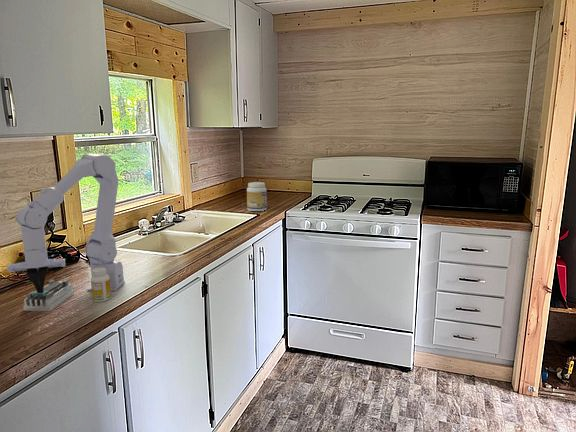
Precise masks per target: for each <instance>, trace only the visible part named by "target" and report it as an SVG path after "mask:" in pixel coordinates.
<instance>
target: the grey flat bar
mask: <svg viewBox="0 0 576 432" xmlns="http://www.w3.org/2000/svg"><path fill="white" fill-rule="evenodd" d="M47 285H48V284H47ZM61 285H63V281H55V282H53V283H51V284H50V285H48V286H46V285H45V286H46V287H45V286H44V291H43V292H41V293H37V290H33V291H34V292H32V296H46V294H47V293H49V292H50V291H52V290H54V289H56V288H57V287H59V286H61Z"/></svg>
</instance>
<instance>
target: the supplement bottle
mask: <svg viewBox="0 0 576 432" xmlns="http://www.w3.org/2000/svg"><path fill="white" fill-rule="evenodd" d="M106 272H107V271H106V268H103V267H100V268H95V269H93V270H92V274H93V275H94V276H91V277H90V287H91V288H92V290H91V295H92V301H93V302H95V303H102V302H107V301H109V300H110V299H112V291H111V288H110V278H109V275H107V274H106Z"/></svg>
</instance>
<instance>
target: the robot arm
mask: <svg viewBox="0 0 576 432" xmlns="http://www.w3.org/2000/svg"><path fill="white" fill-rule="evenodd" d="M87 177H93V178H94V180H96V181H97V183H98V184H99V190H98V196H97V204H96V213H95V222H94V228H93V232H91V234H90V235H89V236H88V241H87V242H86V245H85V246H84V253H85V255H86V256H87V257H88V258H89V265H90V266H89V267H90V275H91V277H92V276H94V275H93V274H92V270H93V269H95V268H100V267H103V268H106V271H107V272H106V274H107V275H109V278H110V288H111V292H114V291H117V290H118V289H119V288H120V287H121V286H122V285H124V284H125V282H126V281H125V280H124V277H125V276H124V267H123V263H122V262H121V261H118V260H116V257H117V255H118V250H117V249H118V248H117V245H116V244H117V243H116V242H117V241H116V239H115V236H114V235H113V227H114V220H115V219H114V217H115V212H116V211H115V209H116V203H117V196H118V189H119V188H118V187H119V177H118V175H117V171H116V162H115V161H114V160H113V159H112V158H111V157H110V156H109V155H107V154H97V153H95V154H94V153H88V152H87V153H85V154H83V155H82V156H81V157H80V158H79V159H77V160H76V161H75V163H74V164H73V166H72V167H70V169H69V170H68V171H67V173H65V175H64V176H63V177H62V178H60V180H59V181H58V182H57V183H56V184H55V185H54V186H52V187H51V186H50V187H49V186H48V187H46V188H42V189H41V190H40V191H39V192H40V194H38V195H37V197H35V199H34V200H33V201H29V202H28V203H27V206H24V207H22V208H20V209H19V210H18V212H17V215H16V217H15V221H16V222H17V224H18V225H20V228H21V238H22V246H23V252H24V261H21V262H15V263H10V264H8V265H7V272H8V273H9V274H10V273H13V272H22V271H26V276H27V277H28V278H29V279H30V281H31V282H32V284H33V286H34V287H35V291H37V293H41V292H43V291H44V287H45V281H46V277H47V274H48V272H49V269H50V268H57V267H58V268H59V267H61V268H62V267H66V258H48V249H47V241H46V232H45V225H46V223H48V222H47V221H48V217H49V215H50V214H52V212H54V211H55V210H56V208H57V207H59V206H60V205H61V204H62V203H63V201H64V195H65V194H66V193H67V192H68V191H70V190H71V189H72V188H73V187H74V186H75V185H76V184H77V183H79V182H80V181H81V180H82V179H83V178H87ZM87 291H92V288H91V286H89V287H88V288H87Z"/></svg>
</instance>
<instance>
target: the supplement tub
mask: <svg viewBox="0 0 576 432" xmlns="http://www.w3.org/2000/svg"><path fill="white" fill-rule="evenodd" d="M267 192H268V191H267V188H266V183H265V182H262V181H253V182H252V181H251V182H248V183H247V188H246V209H247V211H248V212H251V211H262V212H265V211H267V208H268V205H267V204H268V202H267V201H268V200H267V199H268V198H267V197H268V195H267ZM264 210H265V211H264Z"/></svg>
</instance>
